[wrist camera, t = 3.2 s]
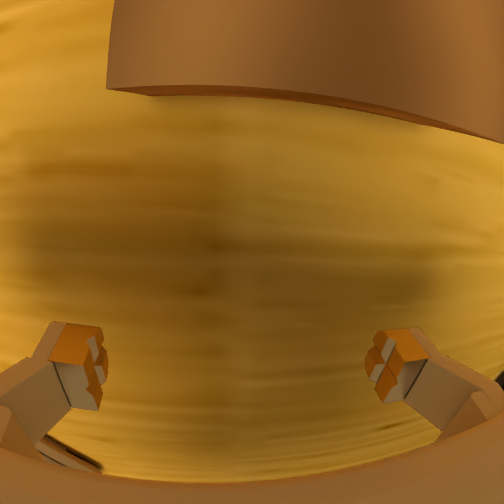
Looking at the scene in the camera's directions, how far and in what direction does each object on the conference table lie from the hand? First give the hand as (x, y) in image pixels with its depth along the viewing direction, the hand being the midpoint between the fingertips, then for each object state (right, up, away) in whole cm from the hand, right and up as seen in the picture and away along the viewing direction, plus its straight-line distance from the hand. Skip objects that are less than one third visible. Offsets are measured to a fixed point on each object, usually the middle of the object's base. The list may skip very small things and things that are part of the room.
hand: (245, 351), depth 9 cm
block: (+2, +13, -1) cm, 13 cm away
